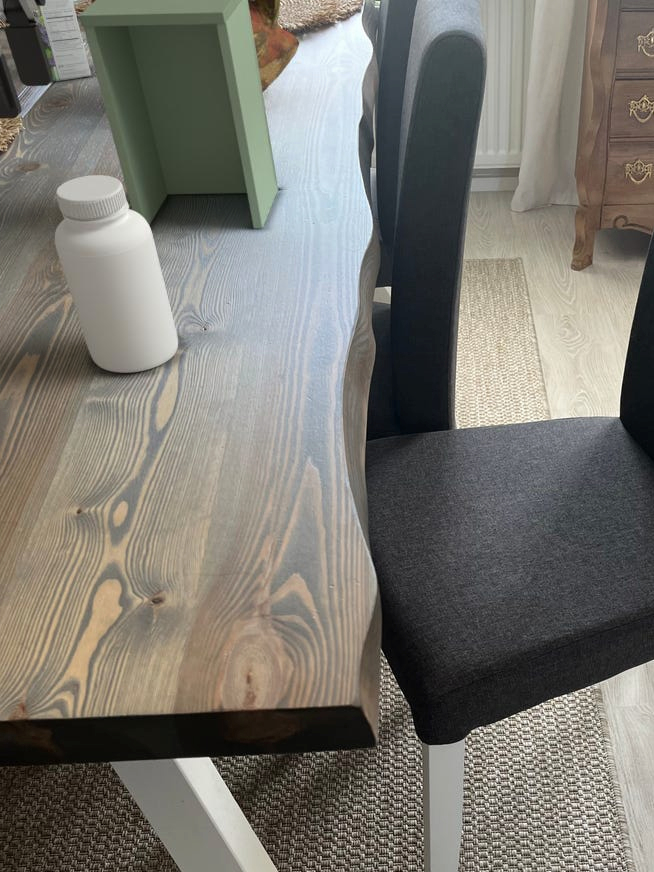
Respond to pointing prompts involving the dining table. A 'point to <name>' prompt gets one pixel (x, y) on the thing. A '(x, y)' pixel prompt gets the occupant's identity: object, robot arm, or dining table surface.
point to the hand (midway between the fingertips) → (22, 99)
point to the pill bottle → (114, 276)
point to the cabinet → (183, 99)
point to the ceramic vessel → (270, 40)
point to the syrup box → (63, 40)
